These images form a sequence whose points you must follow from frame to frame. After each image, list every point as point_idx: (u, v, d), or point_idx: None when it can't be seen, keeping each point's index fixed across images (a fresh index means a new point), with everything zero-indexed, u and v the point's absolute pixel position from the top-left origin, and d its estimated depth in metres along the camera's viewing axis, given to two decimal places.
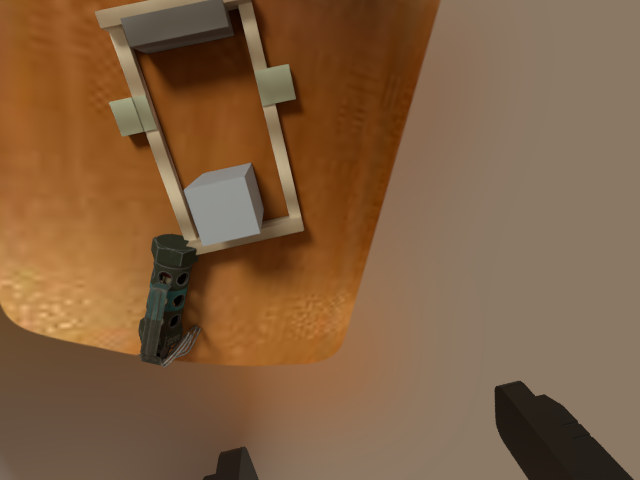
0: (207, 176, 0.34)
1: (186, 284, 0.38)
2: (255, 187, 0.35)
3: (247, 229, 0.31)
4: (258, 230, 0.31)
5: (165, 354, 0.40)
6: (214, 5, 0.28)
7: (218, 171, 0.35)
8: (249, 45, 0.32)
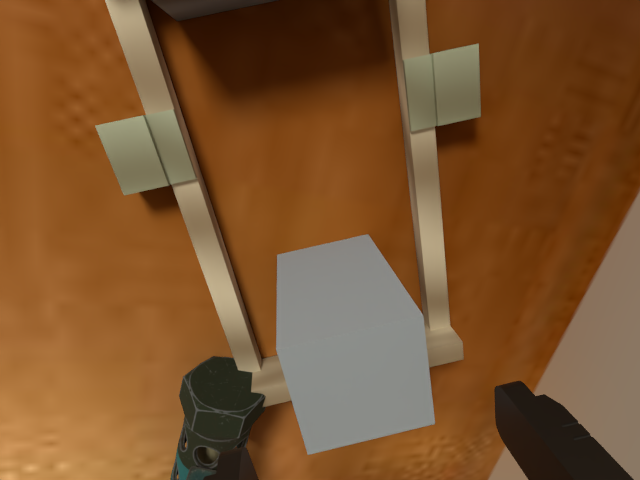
0: (298, 275, 0.17)
1: None
2: None
3: (409, 418, 0.14)
4: (432, 418, 0.14)
5: None
6: None
7: (311, 255, 0.18)
8: (400, 2, 0.15)
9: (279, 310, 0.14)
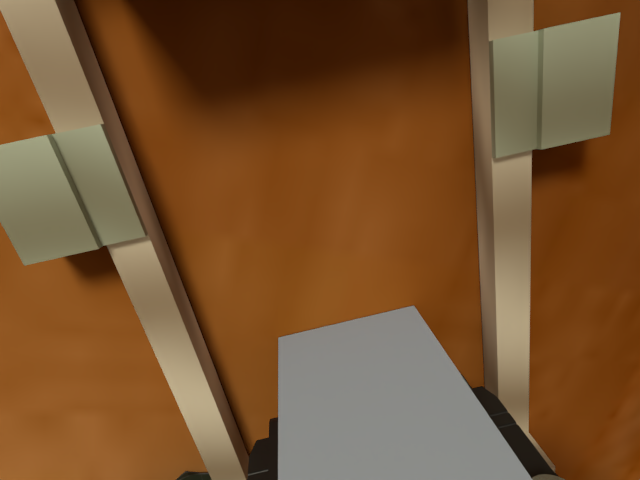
0: (313, 393, 0.10)
1: None
2: None
3: None
4: None
5: None
6: None
7: (330, 345, 0.12)
8: None
9: None
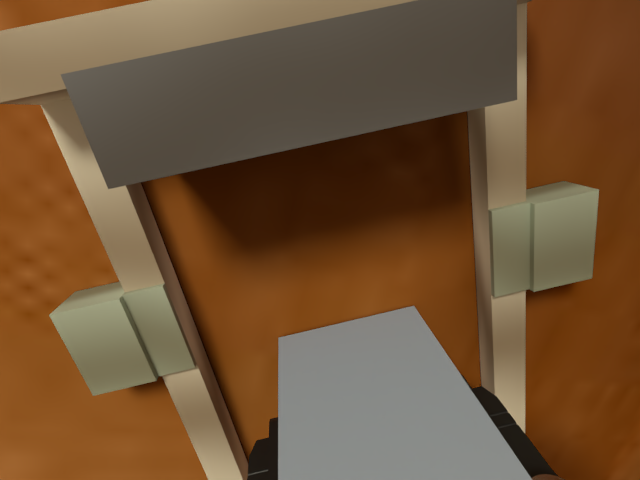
0: (313, 393, 0.10)
1: None
2: None
3: None
4: None
5: None
6: (480, 14, 0.06)
7: (330, 345, 0.12)
8: (491, 137, 0.10)
9: None
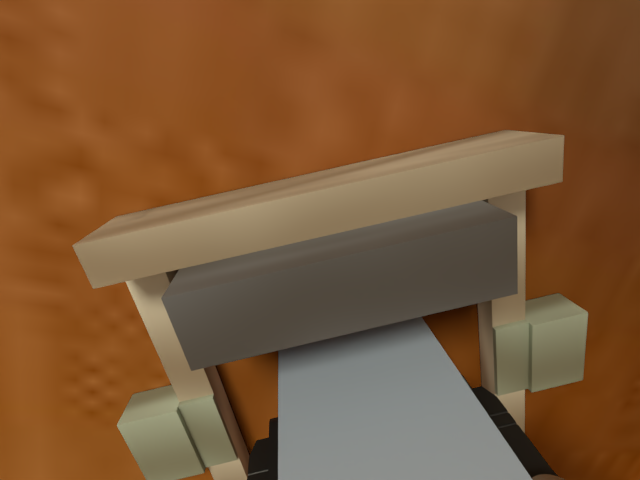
0: (313, 393, 0.10)
1: None
2: None
3: None
4: None
5: None
6: (488, 240, 0.08)
7: (330, 345, 0.12)
8: None
9: None
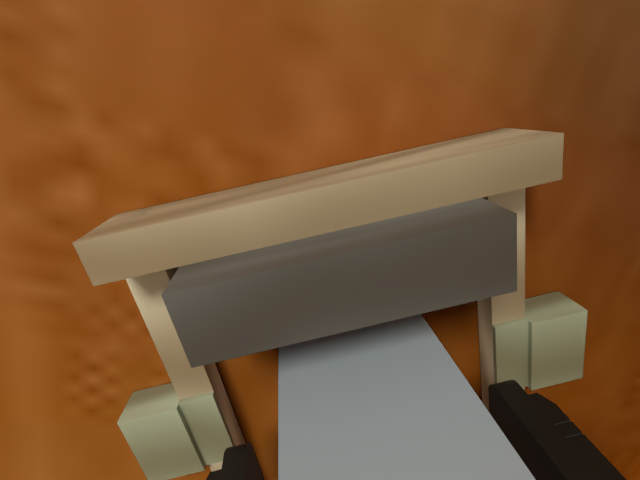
0: (313, 384, 0.10)
1: None
2: None
3: None
4: None
5: None
6: (488, 237, 0.08)
7: (329, 338, 0.12)
8: None
9: (283, 478, 0.08)
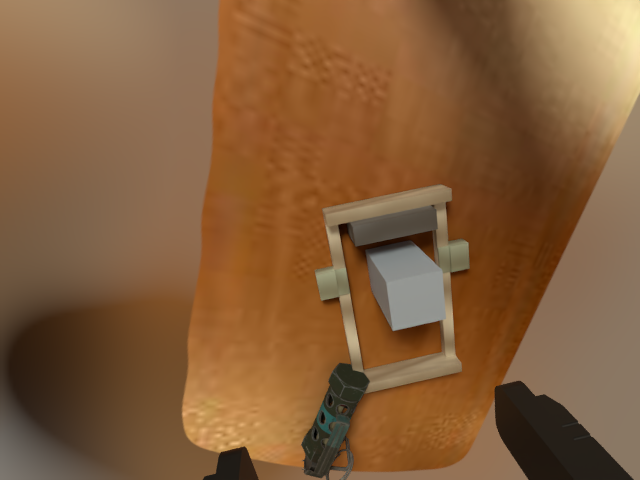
0: (382, 258, 0.36)
1: (354, 410, 0.42)
2: None
3: (435, 315, 0.33)
4: (444, 316, 0.33)
5: None
6: (429, 214, 0.34)
7: (384, 250, 0.38)
8: (437, 228, 0.37)
9: (380, 270, 0.33)
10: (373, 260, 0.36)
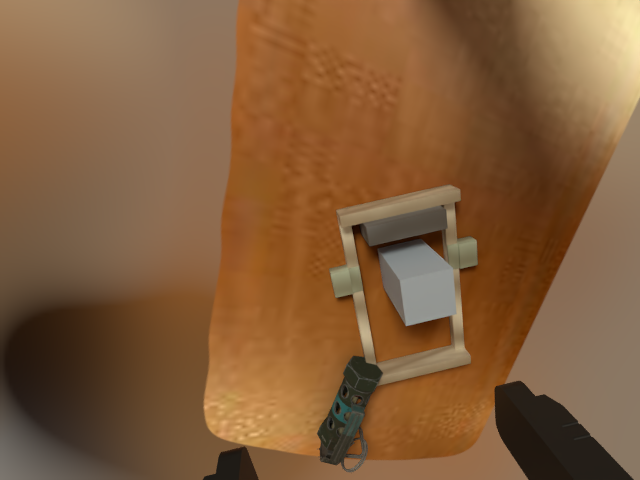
0: (394, 256, 0.37)
1: (367, 400, 0.44)
2: None
3: (446, 311, 0.34)
4: (455, 311, 0.34)
5: None
6: (439, 215, 0.35)
7: (395, 248, 0.39)
8: None
9: (393, 269, 0.35)
10: (386, 259, 0.37)
